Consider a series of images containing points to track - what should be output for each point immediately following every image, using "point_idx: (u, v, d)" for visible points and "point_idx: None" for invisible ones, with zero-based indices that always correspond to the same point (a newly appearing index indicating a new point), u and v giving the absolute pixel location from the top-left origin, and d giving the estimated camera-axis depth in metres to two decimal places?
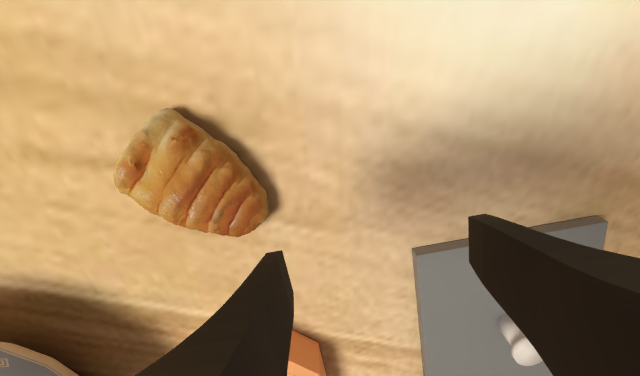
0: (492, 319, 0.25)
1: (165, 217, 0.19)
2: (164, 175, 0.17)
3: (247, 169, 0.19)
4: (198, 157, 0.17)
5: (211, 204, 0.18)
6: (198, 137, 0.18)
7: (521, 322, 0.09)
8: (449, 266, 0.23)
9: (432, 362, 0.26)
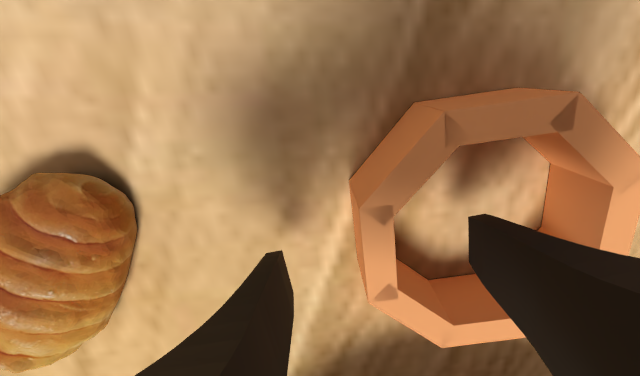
0: None
1: (61, 327, 0.12)
2: None
3: None
4: None
5: (16, 266, 0.11)
6: None
7: (521, 322, 0.09)
8: None
9: None
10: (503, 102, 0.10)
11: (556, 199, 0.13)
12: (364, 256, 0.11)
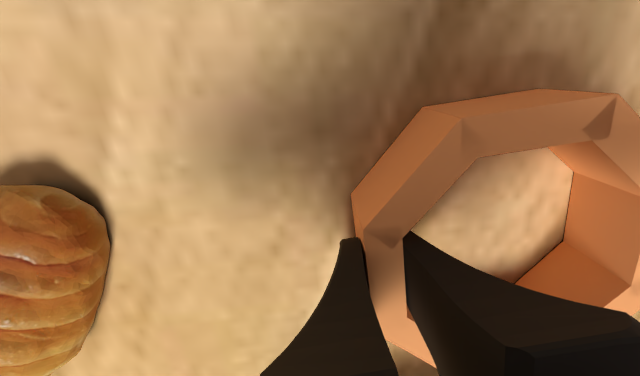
0: None
1: (22, 359, 0.11)
2: None
3: None
4: None
5: None
6: None
7: (426, 338, 0.09)
8: None
9: None
10: (529, 107, 0.08)
11: (581, 212, 0.12)
12: (369, 282, 0.10)
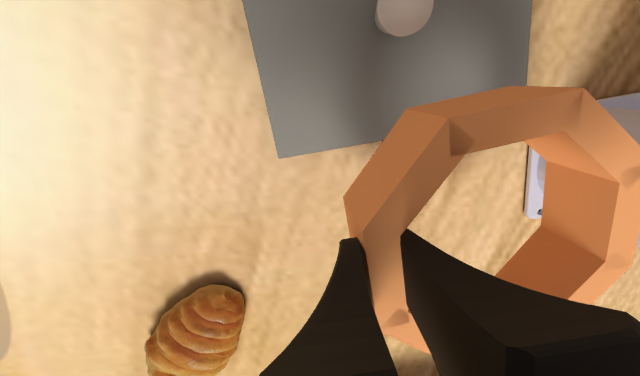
0: (383, 41, 0.17)
1: (215, 366, 0.24)
2: (173, 367, 0.23)
3: (179, 302, 0.23)
4: (159, 345, 0.23)
5: (197, 339, 0.23)
6: (154, 336, 0.24)
7: (426, 338, 0.09)
8: (293, 118, 0.19)
9: None
10: (508, 104, 0.09)
11: (556, 197, 0.13)
12: (371, 281, 0.10)
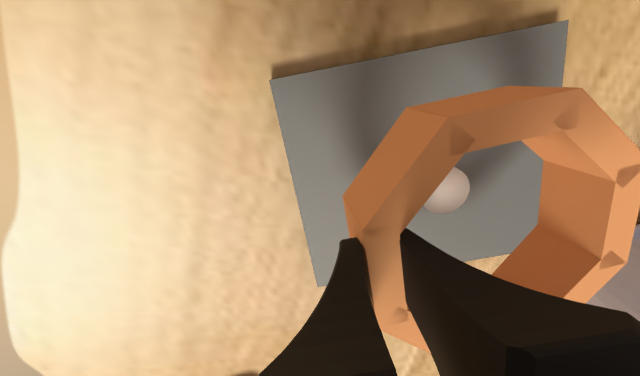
0: None
1: None
2: None
3: None
4: None
5: None
6: None
7: (426, 338, 0.09)
8: (333, 254, 0.20)
9: (477, 252, 0.21)
10: (507, 103, 0.09)
11: (552, 196, 0.13)
12: (371, 280, 0.10)
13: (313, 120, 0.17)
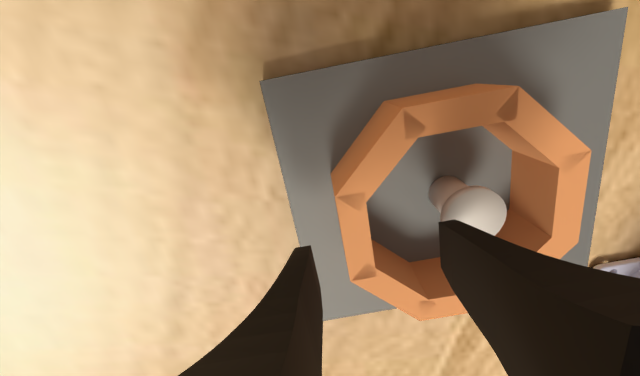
0: (436, 215, 0.16)
1: None
2: None
3: None
4: None
5: None
6: None
7: (485, 328, 0.09)
8: (336, 285, 0.17)
9: None
10: (453, 98, 0.11)
11: (518, 182, 0.15)
12: (343, 239, 0.13)
13: (313, 130, 0.14)
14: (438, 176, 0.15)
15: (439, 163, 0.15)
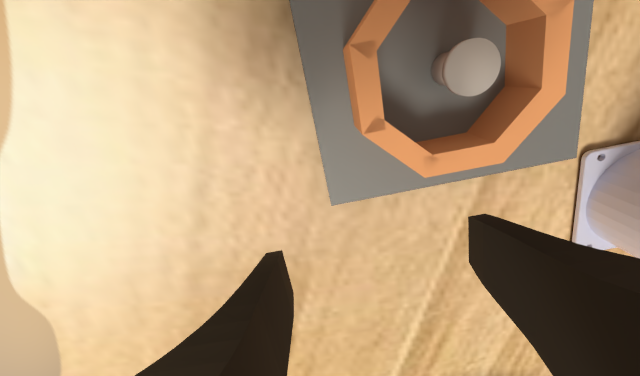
0: (438, 92, 0.18)
1: None
2: None
3: None
4: None
5: None
6: None
7: (521, 322, 0.09)
8: (347, 167, 0.19)
9: (502, 163, 0.19)
10: None
11: (512, 53, 0.16)
12: (356, 89, 0.15)
13: (327, 4, 0.16)
14: (439, 52, 0.17)
15: (440, 39, 0.17)
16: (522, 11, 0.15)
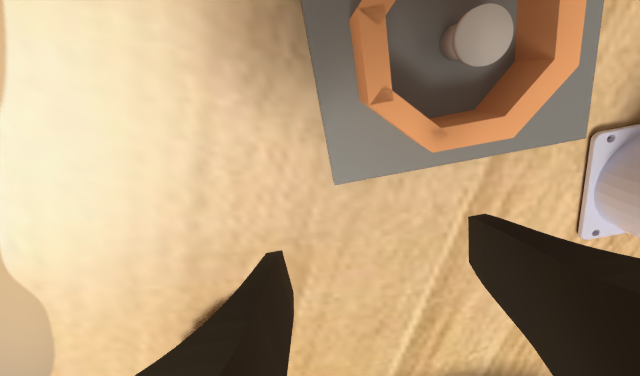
0: (447, 67, 0.17)
1: None
2: None
3: None
4: None
5: None
6: None
7: (521, 322, 0.09)
8: (352, 144, 0.19)
9: (510, 143, 0.19)
10: None
11: (523, 26, 0.16)
12: (363, 56, 0.14)
13: None
14: (449, 24, 0.16)
15: (450, 10, 0.16)
16: None
